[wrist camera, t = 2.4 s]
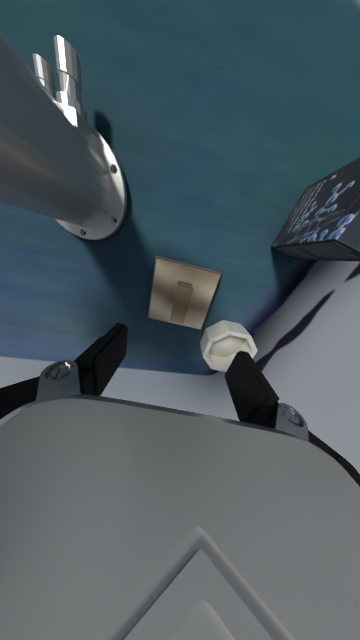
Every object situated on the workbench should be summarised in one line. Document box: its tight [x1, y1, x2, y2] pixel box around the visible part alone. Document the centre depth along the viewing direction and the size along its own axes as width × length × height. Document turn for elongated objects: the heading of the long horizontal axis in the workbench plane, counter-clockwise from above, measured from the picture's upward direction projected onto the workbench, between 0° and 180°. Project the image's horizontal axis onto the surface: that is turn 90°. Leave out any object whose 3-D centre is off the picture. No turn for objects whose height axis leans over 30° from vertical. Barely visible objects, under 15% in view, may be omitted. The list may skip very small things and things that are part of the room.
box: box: [271, 158, 360, 261], centre depth 15 cm, size 8×6×11 cm
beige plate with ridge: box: [148, 259, 220, 330], centre depth 22 cm, size 11×11×5 cm
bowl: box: [200, 320, 257, 372], centre depth 27 cm, size 10×10×4 cm
